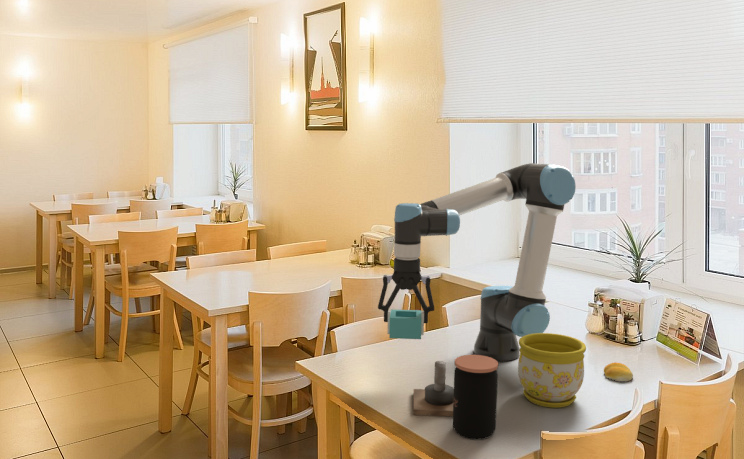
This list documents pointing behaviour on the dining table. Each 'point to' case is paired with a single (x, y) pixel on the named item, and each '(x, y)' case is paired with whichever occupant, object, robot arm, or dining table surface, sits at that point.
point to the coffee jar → (475, 396)
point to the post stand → (435, 395)
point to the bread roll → (618, 372)
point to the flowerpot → (551, 368)
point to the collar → (405, 324)
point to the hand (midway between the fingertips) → (405, 333)
